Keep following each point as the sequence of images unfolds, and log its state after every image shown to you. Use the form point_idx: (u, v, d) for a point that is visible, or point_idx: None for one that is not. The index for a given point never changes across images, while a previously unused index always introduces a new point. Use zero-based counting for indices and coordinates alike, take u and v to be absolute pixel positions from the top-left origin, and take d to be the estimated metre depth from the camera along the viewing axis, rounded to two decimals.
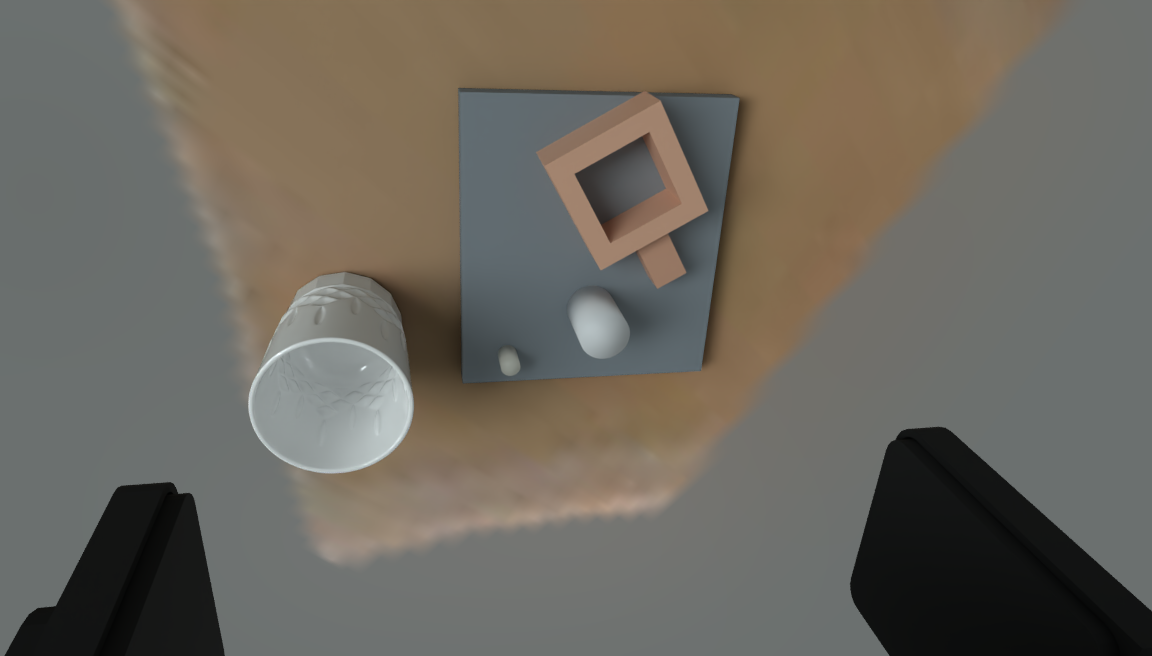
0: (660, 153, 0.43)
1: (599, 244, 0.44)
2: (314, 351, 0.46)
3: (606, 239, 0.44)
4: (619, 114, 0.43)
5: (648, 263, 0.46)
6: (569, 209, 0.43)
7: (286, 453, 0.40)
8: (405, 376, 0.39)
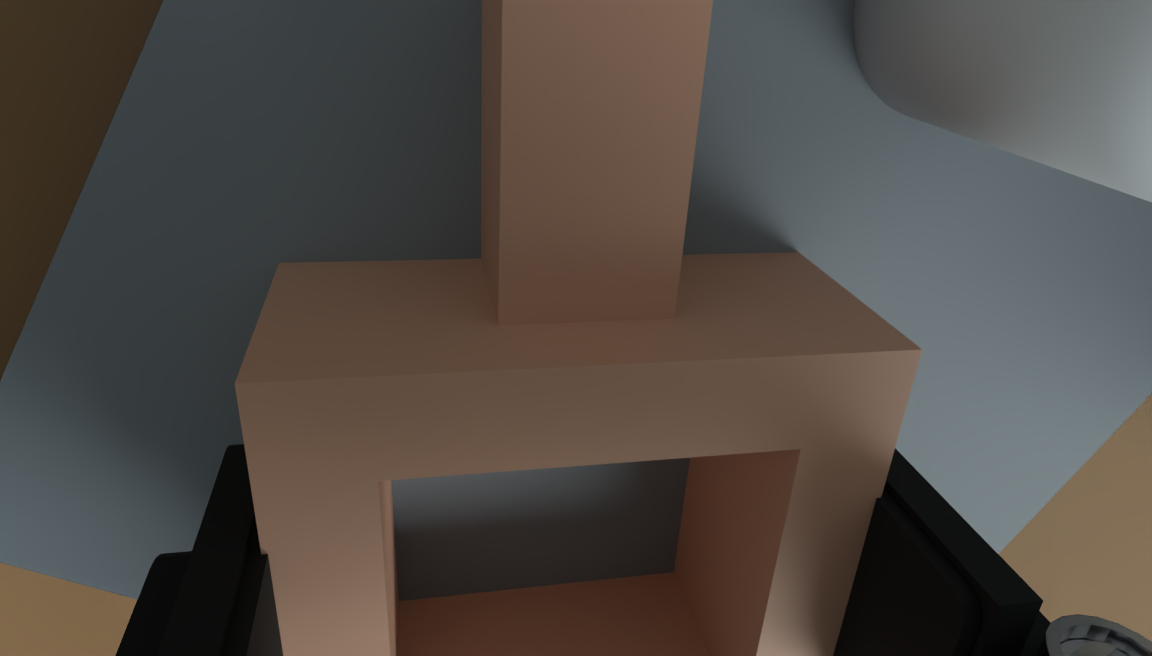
0: None
1: (842, 464, 0.09)
2: None
3: (803, 472, 0.09)
4: None
5: (674, 177, 0.08)
6: (838, 629, 0.10)
7: None
8: None
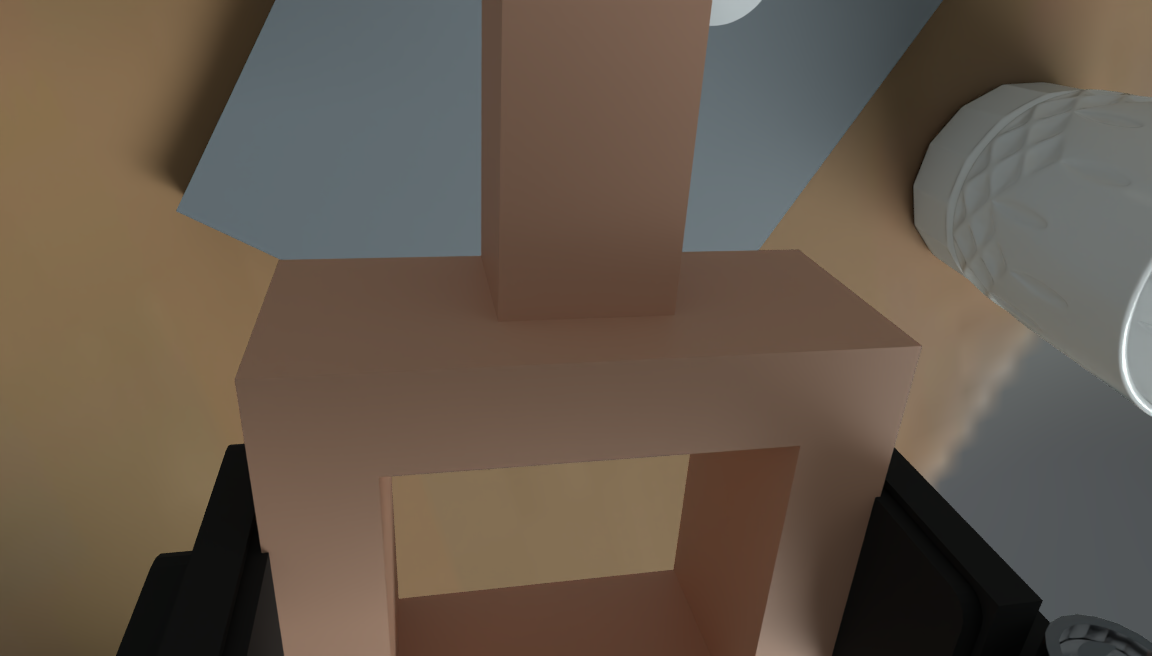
0: None
1: (842, 461, 0.09)
2: None
3: (802, 468, 0.09)
4: None
5: (674, 173, 0.08)
6: (838, 626, 0.10)
7: None
8: (1137, 277, 0.18)
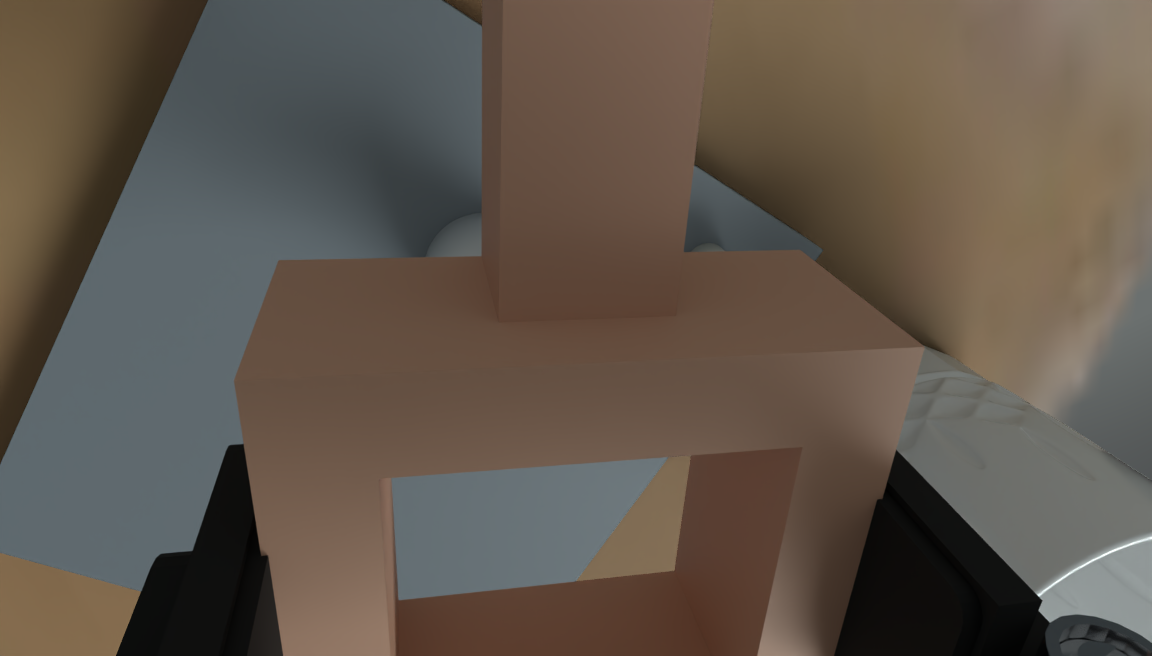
0: None
1: (844, 462, 0.09)
2: None
3: (804, 470, 0.09)
4: None
5: (675, 173, 0.08)
6: (840, 628, 0.10)
7: None
8: None
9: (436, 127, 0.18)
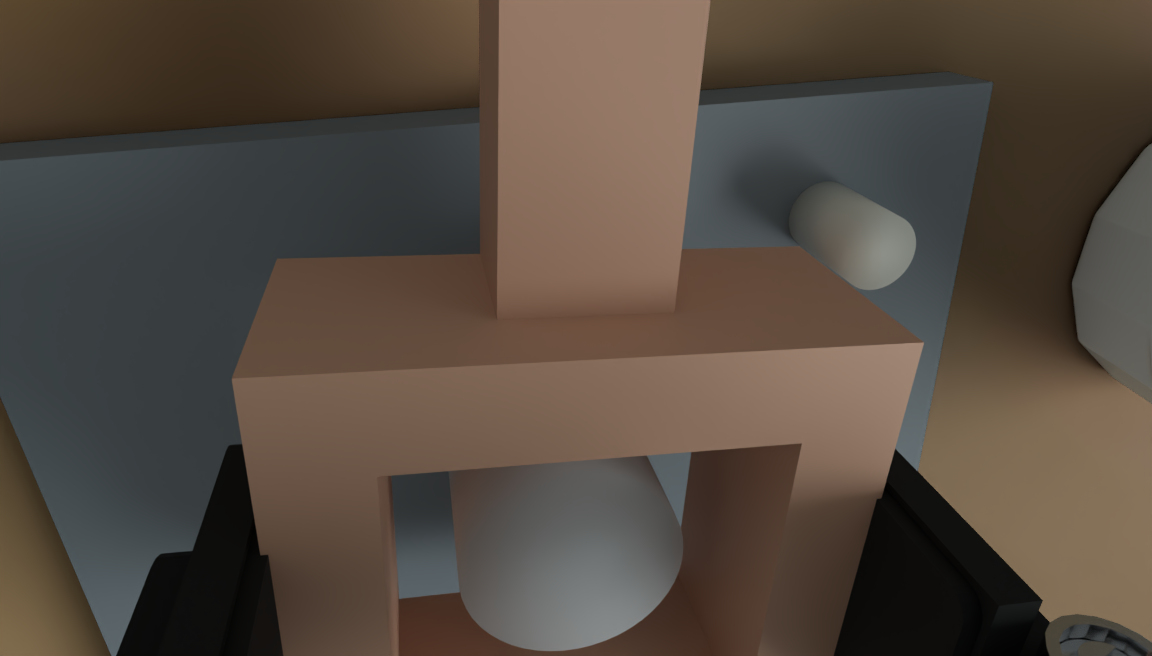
0: None
1: (843, 459, 0.09)
2: None
3: (804, 466, 0.09)
4: None
5: (673, 169, 0.08)
6: (841, 625, 0.10)
7: None
8: None
9: None
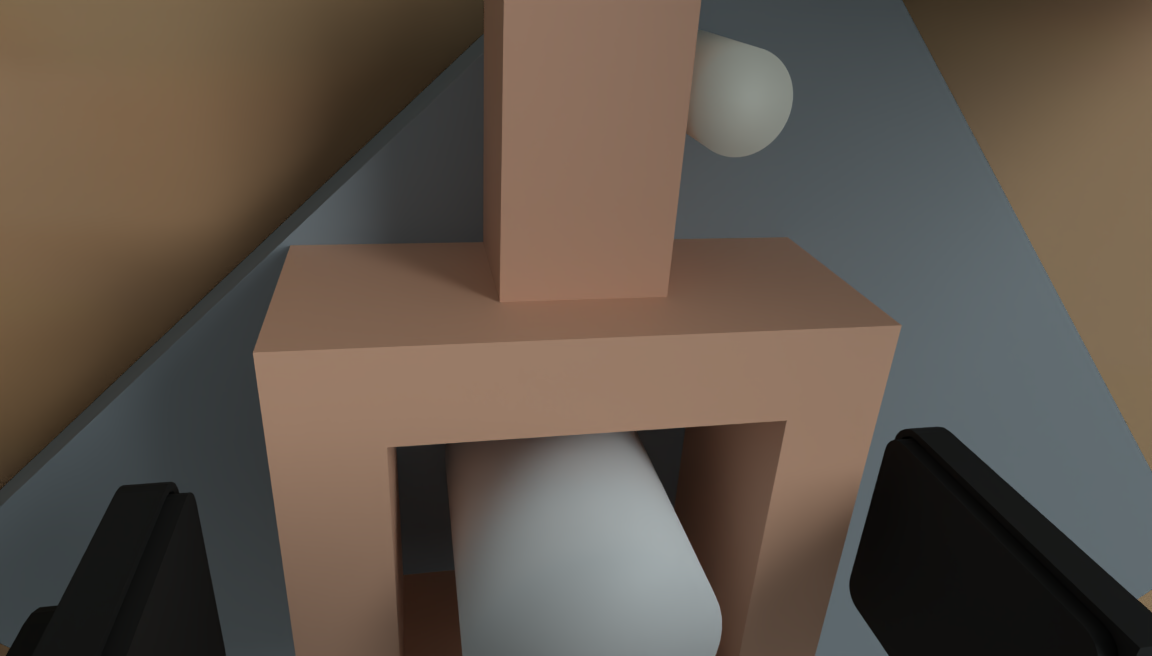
0: None
1: (826, 436, 0.09)
2: None
3: (789, 442, 0.09)
4: None
5: (666, 162, 0.09)
6: (824, 597, 0.11)
7: None
8: None
9: None
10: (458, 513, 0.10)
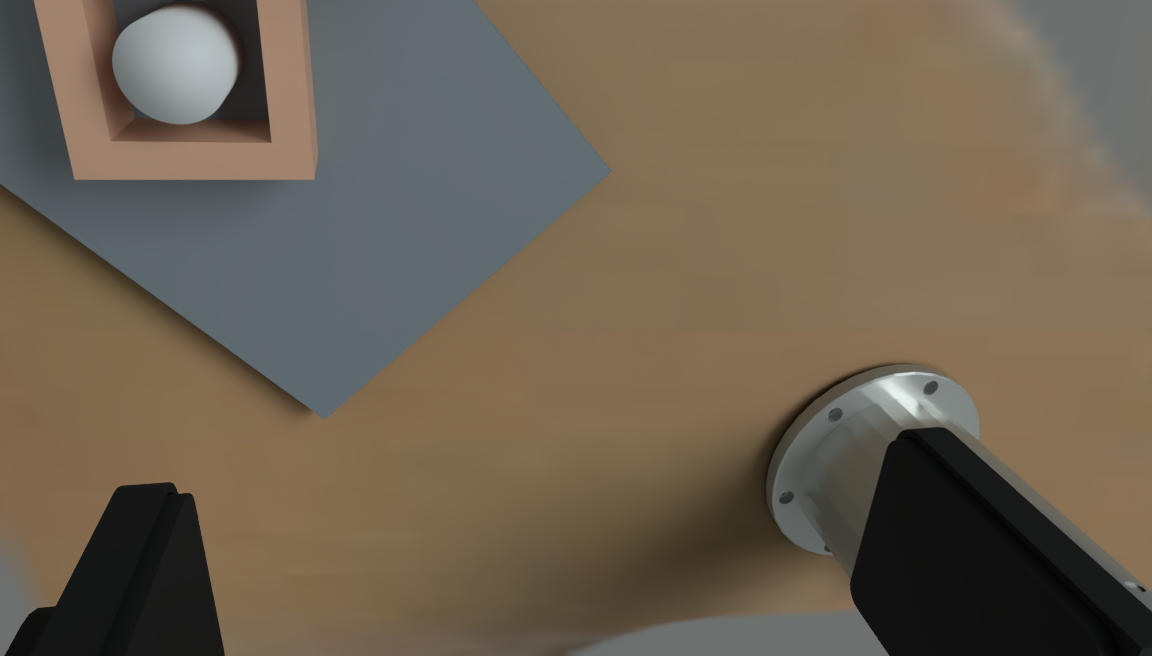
0: (98, 94, 0.23)
1: None
2: None
3: None
4: None
5: None
6: (304, 91, 0.24)
7: None
8: None
9: None
10: None
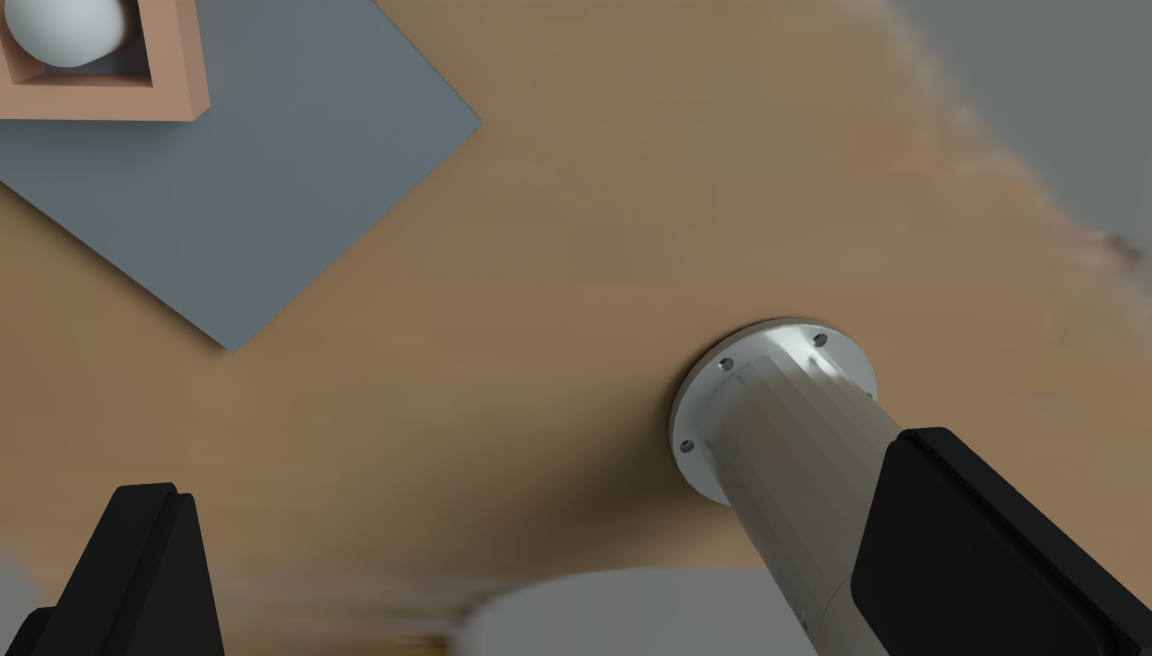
0: (0, 43, 0.27)
1: None
2: None
3: None
4: None
5: None
6: (179, 41, 0.28)
7: None
8: None
9: None
10: None
